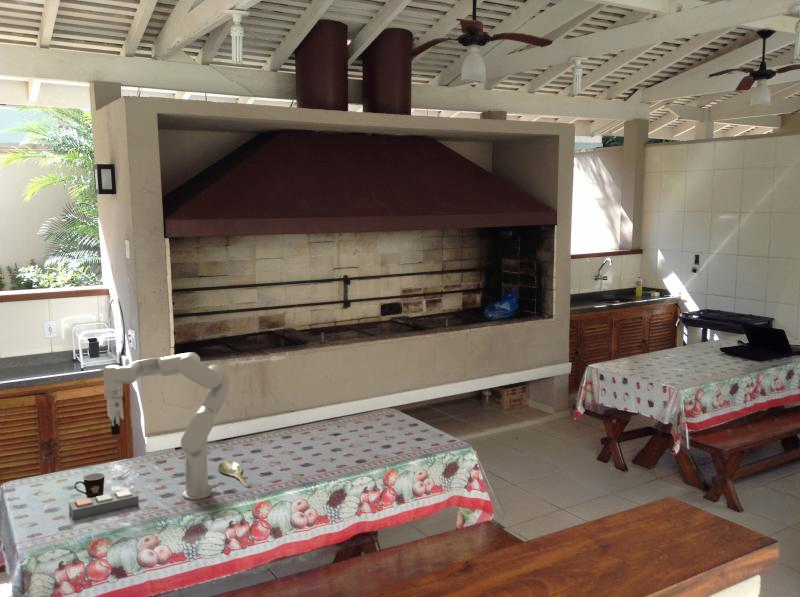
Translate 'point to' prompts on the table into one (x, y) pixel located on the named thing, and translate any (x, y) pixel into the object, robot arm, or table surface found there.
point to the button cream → (123, 494)
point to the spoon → (232, 465)
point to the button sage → (103, 498)
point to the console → (103, 506)
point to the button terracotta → (83, 502)
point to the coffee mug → (93, 485)
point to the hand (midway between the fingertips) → (115, 434)
